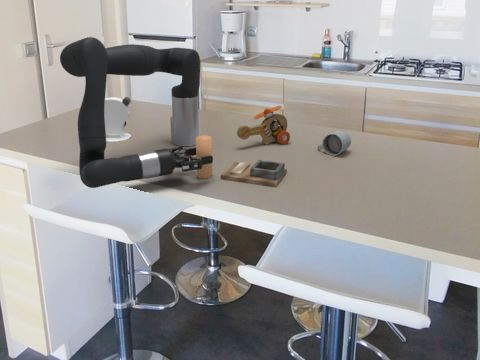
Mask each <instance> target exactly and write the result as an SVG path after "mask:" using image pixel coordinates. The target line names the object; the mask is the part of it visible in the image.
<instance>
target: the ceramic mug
mask: <svg viewBox="0 0 480 360" xmlns="http://www.w3.org/2000/svg"><path fill="white" fill-rule="evenodd" d="M351 143H352V139H351V136H350V134H349V133H348V132H346V131H343V130H337V131H334V132H333V131H332V132H330V133H328V134H326V135H325V136H324V137H323V139H322V142H321V143H320V144H318V145H317V148H318V150H323V151H324V152H325V154H327V155H329V156H332V157H333V156H334V157H335V156H338V155H339V154H342V153H343V152H346V151H347V150H348V149H349V148H350V147H351Z"/></svg>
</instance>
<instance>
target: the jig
mask: <svg viewBox="0 0 480 360" xmlns="http://www.w3.org/2000/svg"><path fill="white" fill-rule="evenodd" d="M287 169H288V168H285V162H280V161H271V160H264V159H258V160H257V161H256V162H255V163H254V164H252V163H249V162H242V161H240V162H238V161H237V162H236V161H234V162H233V163H232V164H231V165H230V166H229V167H228V168H227V169H226V170H224V171H223V173H221V174H220V179H221V180H226V181H233V182H240V183H245V184H246V183H247V184H253V185H259V186H267V187H272V188H273V187H274V188H276V187H277V186H279V184H280V183H281V182H282V180H283V178H284V177H285V176H286V175H287V171H288V170H287Z"/></svg>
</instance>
